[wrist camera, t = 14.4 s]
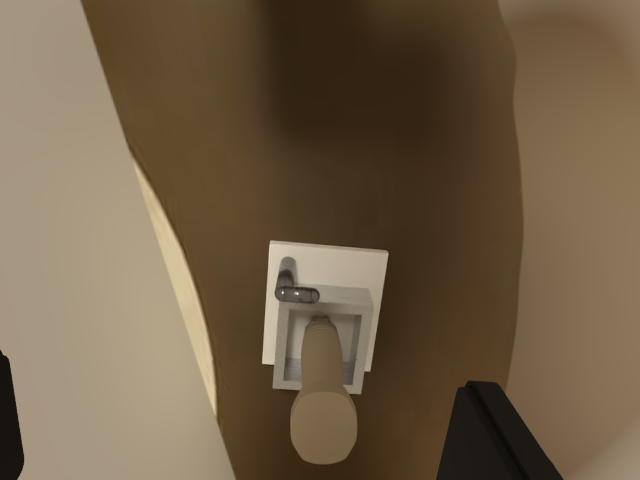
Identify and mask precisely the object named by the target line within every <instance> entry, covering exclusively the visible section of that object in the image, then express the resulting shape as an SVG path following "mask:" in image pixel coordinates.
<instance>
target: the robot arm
mask: <svg viewBox="0 0 640 480" xmlns="http://www.w3.org/2000/svg"><path fill="white" fill-rule="evenodd" d="M23 465H24V453H23V447H22V440H21V434H20V428H19V421H18V414H17V408H16V401H15V395H14V388H13V382H12V375H11V369H10V363H9V359H8V358H7V357H6V356H4V355H3V354H2V352H1V350H0V480H17V479H18V477H19V476H20V473H21V471H22V469H23ZM436 480H563V478H562V477H561V475H560V474H559V472H558V471H557V470H556V468H555V466H554V465H553V463H552V462H551V461H550V460H549V458H548V457H547V456H546V454H545V453H544V451H543V450H542V449H541V448H540V446H539V444H538V443H537V441H536V439H535V438H534V436H533V435H532V433H531V432H530V431H529V429H528V428H527V426H526V425H525V423H524V422H523V420H522V419H521V417H520V416H519V414H518V413H517V411H516V410H515V408H514V407H513V405H512V404H511V402H510V401H509V399H508V398H507V396H506V395H505V393H504V392H503V390H502V389H501V387H500V386H499V385H498V384H497V383H495V382H483V381H468V382H467V383H466V385H465V387H459V388H458V390H457V393H456V397H455V401H454V405H453V410H452V414H451V418H450V423H449V427H448V431H447V435H446V440H445V444H444V448H443V452H442V457H441V461H440V465H439V470H438V474H437V478H436Z"/></svg>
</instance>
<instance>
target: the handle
mask: <svg viewBox="0 0 640 480" xmlns="http://www.w3.org/2000/svg"><path fill="white" fill-rule="evenodd" d="M301 373H302V388H301V390H300V392H299V393H298V395H297V397H296V399H295V401H294V403H293V406H292V408H291V418H290V429H291V440H292V443H293V445H294V447H295V449H296V450H297V452H298V453H299V455H300V456H301V458H302V459H303V460H305V461H307V462H310V463H314V464H332V463H337V462H339V461H342V460H344V459H345V458H346V457H347V456H348V454H349V453H350V451H351V449H352V448H353V446H354V444H355V441H356V438H357V414H356V408H355V405H354V403H353V401H352V399H351V397H350V395H349V393H348V392H347V390H346V388H345V387H343V365H342V351H341V344H340V340H339V336H338V333H337V329H336V326H335V325H334V324H332V322H331V321H330V318H329V316H327V315H324V316H317V315H315V316H313V317H312V318H311V321H310V323H309V324H308V325H306V327H305V331H304V337H303V341H302V349H301Z"/></svg>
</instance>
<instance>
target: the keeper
mask: <svg viewBox="0 0 640 480" xmlns="http://www.w3.org/2000/svg"><path fill="white" fill-rule="evenodd" d="M387 260H388V252H387V250H377V249H365V248H354V247H342V246H330V245H318V244H307V243H295V242H283V241H270V247H269V263H268V279H267V295H266V311H265V327H264V344H263V360H262V364H271V365H274V377H273V388H276V389H290V390H301V388H302V373H301V349H302V341H303V337H304V331H305V327H306V325H308V324H309V323H310V321H311V318H312V317H313V316H315V315H317V316H324V315H327V316H329V318H330V321H331V322H332V324H334V325H335V326H336V329H337V333H338V336H339V340H340V344H341V351H342V365H343V387H345V388H346V390H347V392H348V393H349V394H361V390H362V384H363V377H364V371H370V370H371V363H372V357H373V350H374V344H375V337H376V331H377V325H378V318H379V312H380V305H381V299H382V292H383V286H384V279H385V273H386V267H387Z"/></svg>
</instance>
